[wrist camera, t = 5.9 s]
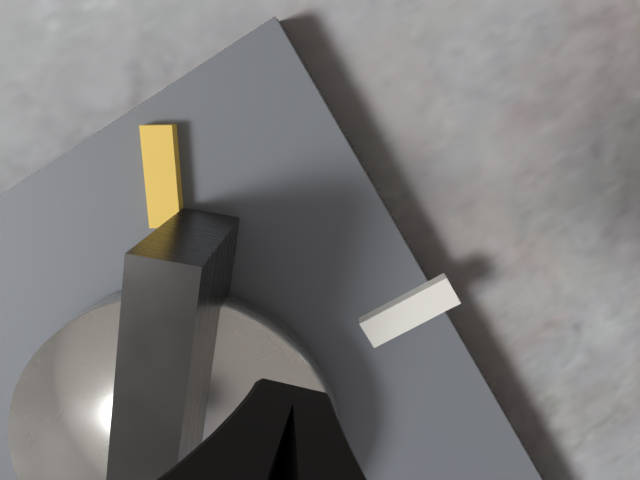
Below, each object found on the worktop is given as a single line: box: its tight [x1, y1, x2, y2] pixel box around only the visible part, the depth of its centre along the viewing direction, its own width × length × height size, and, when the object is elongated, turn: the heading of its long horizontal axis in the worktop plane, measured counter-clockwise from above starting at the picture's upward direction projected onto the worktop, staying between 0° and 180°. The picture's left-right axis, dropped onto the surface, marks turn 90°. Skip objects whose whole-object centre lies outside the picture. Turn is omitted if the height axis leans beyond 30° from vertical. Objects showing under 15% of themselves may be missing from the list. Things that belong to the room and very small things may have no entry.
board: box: [0, 17, 543, 480], centre depth 20 cm, size 20×21×2 cm
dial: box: [8, 208, 339, 480], centre depth 17 cm, size 14×11×5 cm
